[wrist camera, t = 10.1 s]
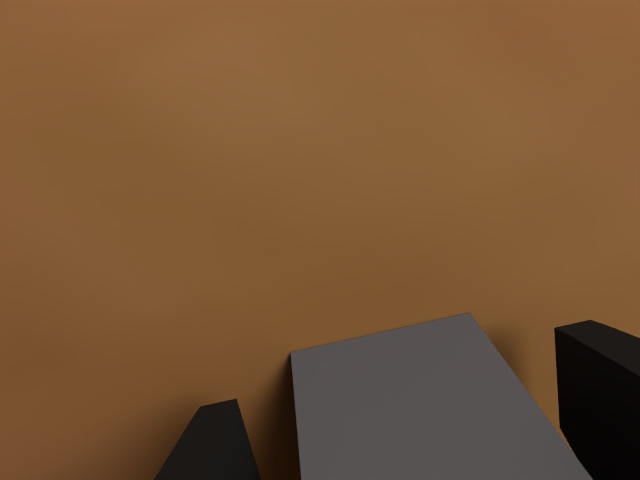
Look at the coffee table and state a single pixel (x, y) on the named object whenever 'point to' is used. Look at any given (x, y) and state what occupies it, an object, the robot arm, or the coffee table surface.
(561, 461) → the plug
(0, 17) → the coffee table surface
